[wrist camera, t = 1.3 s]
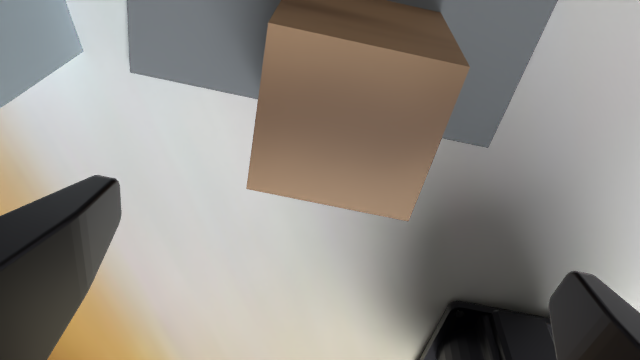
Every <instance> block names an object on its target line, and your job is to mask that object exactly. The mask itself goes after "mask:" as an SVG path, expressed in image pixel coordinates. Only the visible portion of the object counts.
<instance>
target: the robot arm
mask: <svg viewBox="0 0 640 360" xmlns="http://www.w3.org/2000/svg"><path fill="white" fill-rule="evenodd" d="M120 219H121V198H120V185H119V182H118V180H116V179H115V178H110V177H105V176H100V175H94V176H92V177H89V178H87V179H85V180H82V181H80V182H78V183H75V184H73V185H71V186H68V187H66V188H64V189H62V190H59V191H57V192H55V193H52V194H50V195H48V196H45V197H43V198H41V199H38V200H36V201H34V202H32V203H29V204H27V205H25V206H22V207H20V208H18V209H15V210H13V211H11V212H8V213H6V214H4V215H2V216H0V360H47V359H48V357H49V356H50V354H51V352H52V351H53V349H54V347H55V346H56V344H57V342H58V341H59V339H60V337H61V336H62V334H63V332H64V331H65V329H66V328H67V326H68V324H69V323H70V321H71V319H72V318H73V316H74V314H75V313H76V311H77V309H78V308H79V306H80V304H81V303H82V301H83V299H84V298H85V296H86V294H87V292H88V290H89V288H90V286H91V284H92V282H93V280H94V278H95V276H96V274H97V271H98V269H99V267H100V265H101V263H102V260H103V258H104V256H105V254H106V252H107V249H108V247H109V245H110V243H111V241H112V238H113V236H114V234H115V232H116V230H117V227H118V225H119V222H120ZM549 314H550V318H545V317H540V316H535V315H530V314H524V313H519V312H514V311H509V310H504V309H498V308H493V307H488V306H483V305H478V304H472V303H467V302H462V301H455V302H452V303H450V304H449V305H448V307H447V309H446V311H445V313H444V314H443V316H442V318H441V320H440V322H439V324H438V326H437V328H436V329H435V331H434V333H433V335H432V337H431V339H430V341H429V342H428V344H427V346H426V348H425V350H424V352H423V354H422V356H421V357H420V359H419V360H640V313H639V312H638V311H637V310H636V309H634V308H633V307H632V306H631V305H630V304H628V303H627V302H626V301H625V300H623V299H622V298H621V297H620V296H619V295H617V294H616V293H615V292H614V291H613V290H611V289H610V288H609V287H608V286H607V285H605V284H604V283H603V282H602V281H601V280H599V279H598V278H597V277H596V276H594V275H592V274H588V273H583V272H578V271H571V272H570V273H568V274H567V275H566V276H565V278H564V279H563V281H562V282H561V283H560V285H559V286H558V288H557V289H556V290H555V292H554V293H553V295H552V296H551V298H550V301H549Z"/></svg>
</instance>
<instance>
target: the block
mask: <svg viewBox="0 0 640 360" xmlns="http://www.w3.org/2000/svg"><path fill="white" fill-rule="evenodd" d="M82 52H83V49H82V46H81V43H80V40H79V38H78V35H77V32H76V29H75V26H74V24H73V21H72V18H71V15H70V12H69V10H68V7H67V4H66V1H65V0H0V108H1V107H3V106H4V105H6V104H7V103H9V102H10V101H11V100H13V99H14V98H16V97H17V96H19V95H20V94H22V93H23V92H25V91H26V90H28V89H29V88H30V87H32V86H33V85H35V84H36V83H38V82H39V81H41V80H42V79H44V78H45V77H47V76H48V75H49V74H51V73H52V72H54V71H55V70H57V69H58V68H60V67H61V66H63V65H64V64H66V63H67V62H69V61H70V60H71V59H73V58H74V57H76V56H77V55H79V54H80V53H82Z"/></svg>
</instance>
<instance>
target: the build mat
mask: <svg viewBox="0 0 640 360" xmlns="http://www.w3.org/2000/svg"><path fill="white" fill-rule="evenodd" d="M280 1H281V0H127V10H128V35H129V60H130V72H131V73H136V74H140V75H145V76H150V77H155V78H159V79H164V80H169V81H174V82H178V83H183V84H188V85H193V86H197V87H202V88H207V89H212V90H216V91H221V92H226V93H231V94H235V95H240V96H245V97H250V98H254V99H258V97H259V89H260V82H261V74H262V66H263V59H264V51H265V43H266V36H267V28H268V22H269V20H270V19H271V17H272V15H273V13H274V12H275V10H276V8H277V6H278V5H279V3H280ZM387 1H392V2H396V3H401V4H405V5H409V6H414V7H418V8H423V9H427V10H432V11H436V12H441V14H442V16H443V18H444V19H445V21H446V23H447V25H448V27H449V29H450V31H451V33H452V34H453V36H454V38H455V40H456V42H457V44H458V46H459V47H460V49H461V51H462V53H463V55H464V57H465V59H466V60H467V62H468V64H469V66H470V69H469V71H468V74H467V76H466V79H465V81H464V84H463V86H462V89H461V91H460V94H459V96H458V99H457V101H456V104H455V106H454V109H453V111H452V114H451V116H450V119H449V121H448V124H447V126H446V129H445V131H444V134H443V136H442V138H444V139H449V140H453V141H458V142H463V143H468V144H472V145H477V146H482V147H486V148H488V147H489V145H490V143H491V141H492V139H493V136H494V134H495V132H496V130H497V128H498V126H499V124H500V122H501V119H502V117H503V115H504V113H505V111H506V109H507V107H508V105H509V102H510V100H511V98H512V96H513V94H514V92H515V90H516V88H517V86H518V83H519V81H520V79H521V77H522V75H523V73H524V71H525V69H526V66H527V64H528V62H529V60H530V58H531V56H532V54H533V52H534V49H535V47H536V45H537V43H538V41H539V39H540V37H541V35H542V33H543V30H544V28H545V26H546V24H547V22H548V20H549V18H550V16H551V13H552V11H553V9H554V7H555V5H556V3H557V1H558V0H387Z"/></svg>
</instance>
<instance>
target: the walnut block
mask: <svg viewBox="0 0 640 360" xmlns="http://www.w3.org/2000/svg"><path fill="white" fill-rule="evenodd" d="M469 69H470V66H469V64H468V62H467V60H466V59H465V57H464V55H463V53H462V51H461V49H460V47H459V46H458V44H457V42H456V40H455V38H454V36H453V34H452V33H451V31H450V29H449V27H448V25H447V23H446V21H445V19H444V18H443V16H442V14H441V12H436V11H432V10H427V9H423V8H418V7H414V6H409V5H405V4H401V3H396V2H392V1H387V0H281V1H280V3H279V5H278V6H277V8H276V10H275V12H274V13H273V15H272V17H271V19H270V20H269V22H268V28H267V36H266V43H265V51H264V59H263V66H262V74H261V82H260V89H259V97H258V104H257V112H256V120H255V127H254V135H253V143H252V150H251V158H250V166H249V173H248V181H247V188H246V189H250V190H255V191H260V192H265V193H270V194H275V195H280V196H285V197H290V198H295V199H300V200H305V201H310V202H315V203H320V204H324V205H329V206H334V207H339V208H344V209H349V210H354V211H359V212H364V213H369V214H374V215H379V216H384V217H389V218H394V219H399V220H404V221H409V219H410V216H411V214H412V211H413V209H414V206H415V204H416V201H417V199H418V196H419V194H420V191H421V189H422V186H423V184H424V181H425V179H426V176H427V174H428V171H429V169H430V166H431V164H432V161H433V159H434V156H435V154H436V151H437V149H438V146H439V144H440V141H441V139H442V136H443V134H444V131H445V129H446V126H447V124H448V121H449V119H450V116H451V114H452V111H453V109H454V106H455V104H456V101H457V99H458V96H459V94H460V91H461V89H462V86H463V84H464V81H465V79H466V76H467V74H468V71H469Z"/></svg>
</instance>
